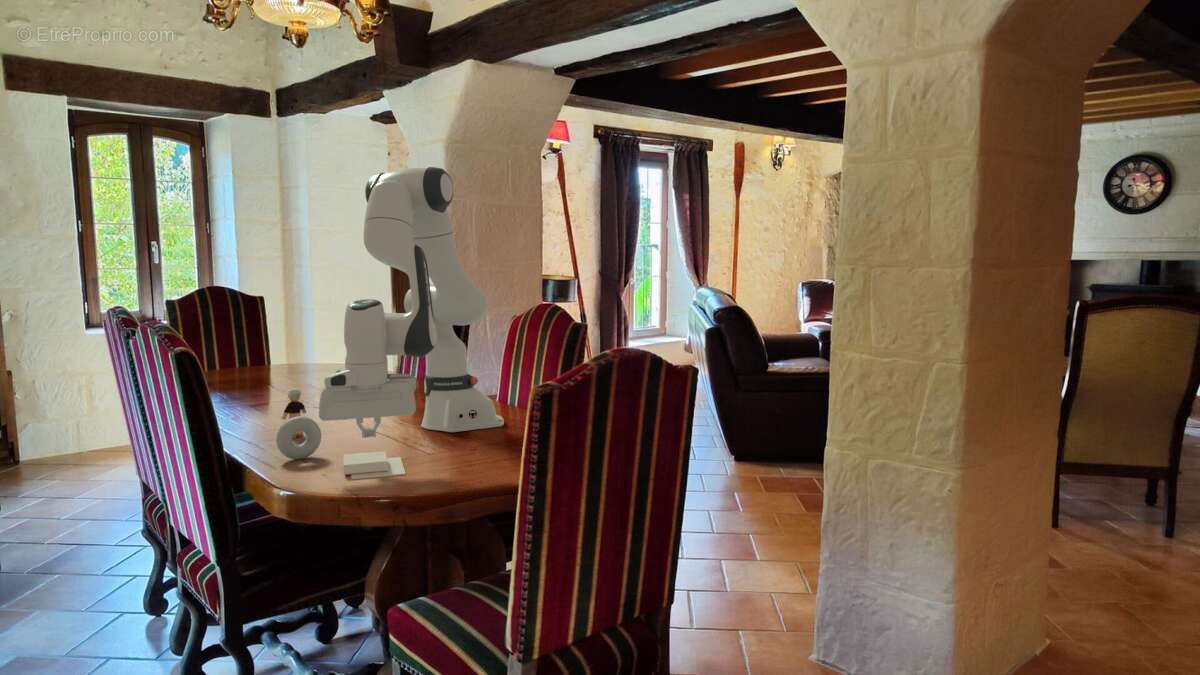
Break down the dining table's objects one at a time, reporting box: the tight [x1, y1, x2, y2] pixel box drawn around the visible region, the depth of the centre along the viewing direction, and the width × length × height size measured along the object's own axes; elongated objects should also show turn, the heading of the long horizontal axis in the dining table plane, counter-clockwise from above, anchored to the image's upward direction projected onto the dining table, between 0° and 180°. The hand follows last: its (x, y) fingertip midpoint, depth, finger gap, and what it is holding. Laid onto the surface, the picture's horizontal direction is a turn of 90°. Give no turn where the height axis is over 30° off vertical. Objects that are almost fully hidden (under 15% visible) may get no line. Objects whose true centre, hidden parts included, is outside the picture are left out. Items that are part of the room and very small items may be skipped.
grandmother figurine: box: [281, 387, 307, 440], centre depth 195 cm, size 8×4×13 cm, turn 168°
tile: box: [343, 450, 388, 476], centre depth 165 cm, size 2×9×9 cm
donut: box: [275, 415, 322, 460], centre depth 173 cm, size 10×4×10 cm, turn 128°
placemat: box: [350, 456, 406, 480], centre depth 166 cm, size 11×14×1 cm
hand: (369, 437), depth 165 cm, fingers closed
